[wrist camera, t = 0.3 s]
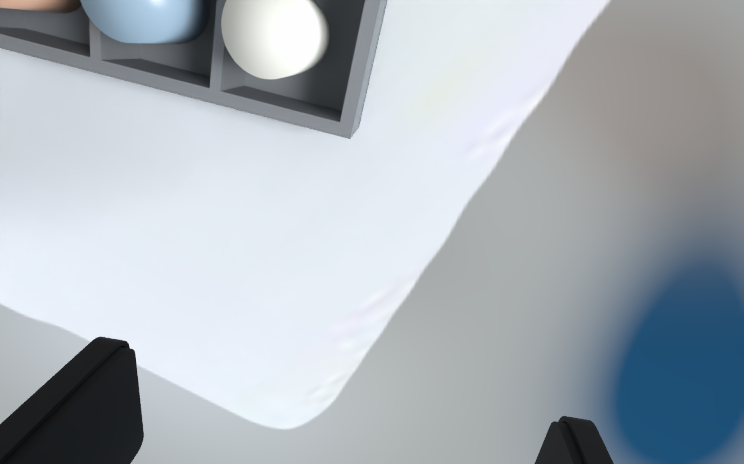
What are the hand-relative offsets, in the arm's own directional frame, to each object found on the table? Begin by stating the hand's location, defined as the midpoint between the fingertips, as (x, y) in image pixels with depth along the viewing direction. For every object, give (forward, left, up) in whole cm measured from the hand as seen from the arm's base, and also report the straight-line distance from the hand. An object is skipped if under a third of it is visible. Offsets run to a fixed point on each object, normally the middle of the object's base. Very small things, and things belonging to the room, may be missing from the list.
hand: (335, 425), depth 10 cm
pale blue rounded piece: (-7, -18, -27) cm, 33 cm away
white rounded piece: (-7, -9, -27) cm, 29 cm away
